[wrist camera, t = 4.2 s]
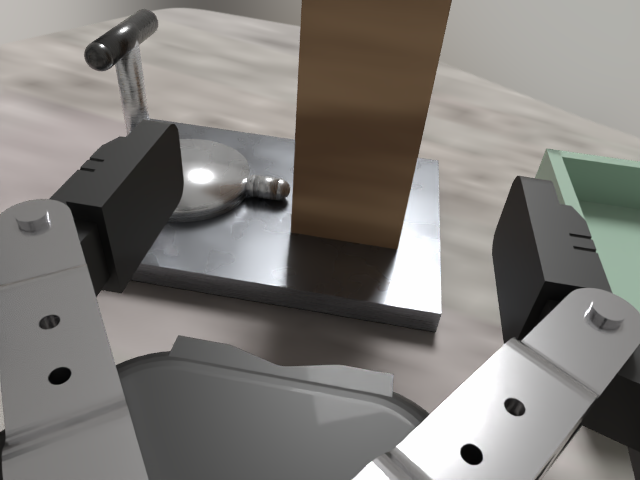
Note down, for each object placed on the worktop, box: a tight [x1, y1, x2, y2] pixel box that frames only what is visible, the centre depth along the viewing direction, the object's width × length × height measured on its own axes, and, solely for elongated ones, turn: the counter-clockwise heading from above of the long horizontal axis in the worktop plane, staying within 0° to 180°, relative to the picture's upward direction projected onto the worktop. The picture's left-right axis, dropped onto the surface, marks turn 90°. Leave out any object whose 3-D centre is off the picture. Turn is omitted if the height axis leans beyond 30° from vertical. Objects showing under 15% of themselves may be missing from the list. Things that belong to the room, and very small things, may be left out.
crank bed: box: [84, 9, 441, 332], centre depth 22 cm, size 11×16×8 cm
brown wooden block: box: [291, 0, 452, 249], centre depth 20 cm, size 4×4×12 cm
